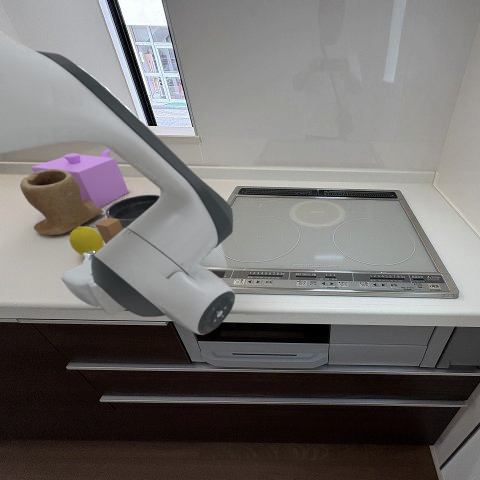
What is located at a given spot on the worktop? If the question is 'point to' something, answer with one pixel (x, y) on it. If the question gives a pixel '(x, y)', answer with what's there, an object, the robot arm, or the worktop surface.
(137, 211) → the bowl
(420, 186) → the worktop surface
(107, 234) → the sponge wand
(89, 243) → the lemon
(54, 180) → the stone cup
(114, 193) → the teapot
